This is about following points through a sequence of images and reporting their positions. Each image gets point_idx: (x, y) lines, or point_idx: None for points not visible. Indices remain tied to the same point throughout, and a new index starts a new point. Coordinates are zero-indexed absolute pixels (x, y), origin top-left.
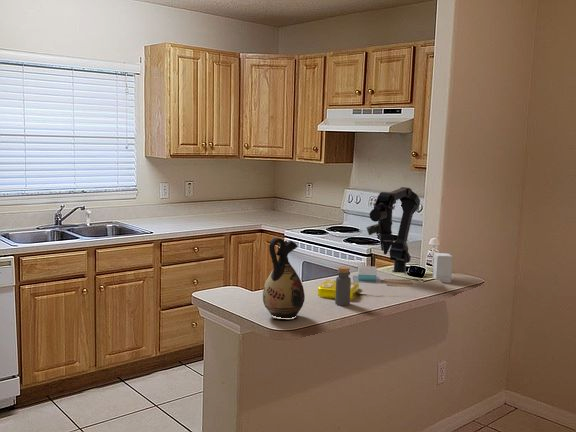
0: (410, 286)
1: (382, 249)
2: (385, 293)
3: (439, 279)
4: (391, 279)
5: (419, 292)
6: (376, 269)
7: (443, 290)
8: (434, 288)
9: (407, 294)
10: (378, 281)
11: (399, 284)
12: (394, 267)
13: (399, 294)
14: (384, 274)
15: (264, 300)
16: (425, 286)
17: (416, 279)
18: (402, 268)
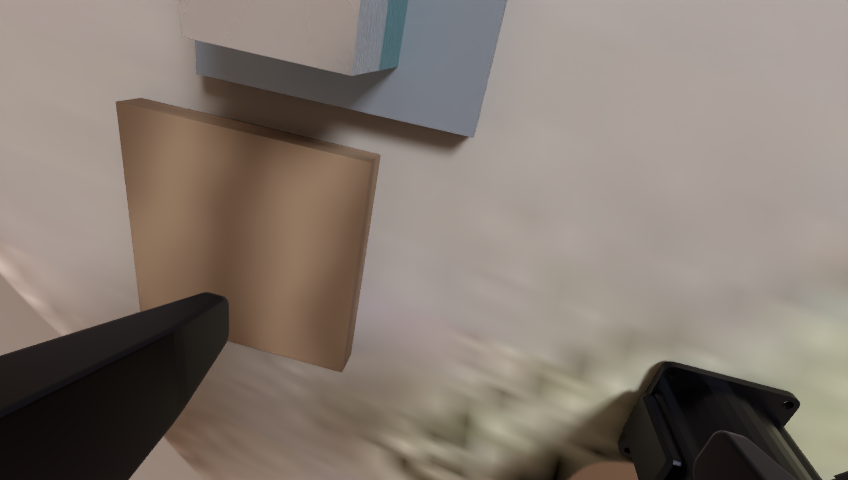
0: (145, 293)
1: (716, 462)
2: (4, 32)
3: None
4: (353, 231)
5: (113, 310)
6: (184, 30)
7: (192, 454)
8: (228, 432)
9: (37, 209)
10: (264, 62)
11: (185, 233)
12: (734, 422)
13: (17, 148)
14: (690, 275)
15: None
16: (269, 408)
17: (459, 440)
18: (639, 462)
